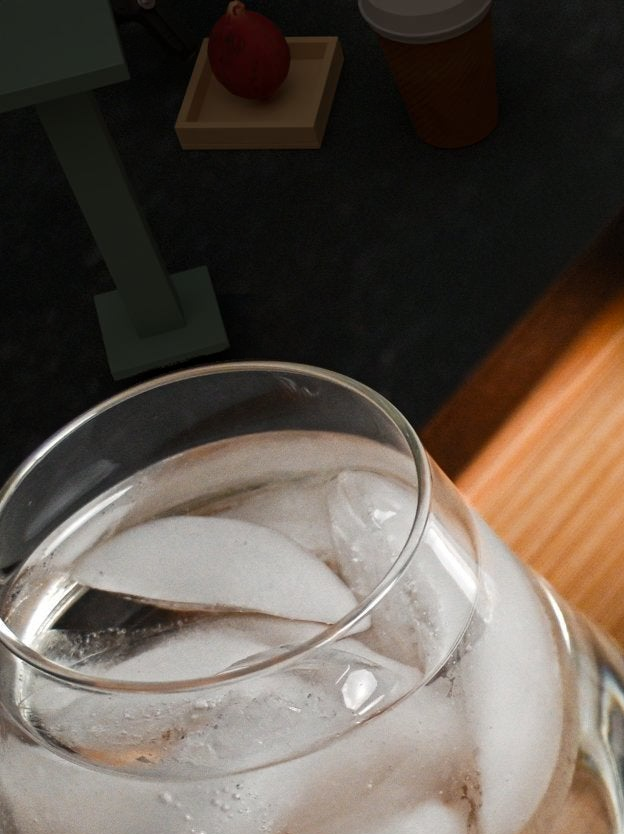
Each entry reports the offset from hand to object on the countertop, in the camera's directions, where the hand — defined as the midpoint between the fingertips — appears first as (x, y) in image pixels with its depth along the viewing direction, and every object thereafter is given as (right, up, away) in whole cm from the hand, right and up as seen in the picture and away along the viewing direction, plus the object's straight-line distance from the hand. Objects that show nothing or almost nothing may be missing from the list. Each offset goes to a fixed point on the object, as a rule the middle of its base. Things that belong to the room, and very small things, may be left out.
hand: (233, 24), depth 140 cm
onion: (+1, -4, +5) cm, 6 cm away
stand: (-3, -24, -7) cm, 25 cm away
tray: (+1, -4, +5) cm, 7 cm away
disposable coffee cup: (+16, -6, +3) cm, 17 cm away
